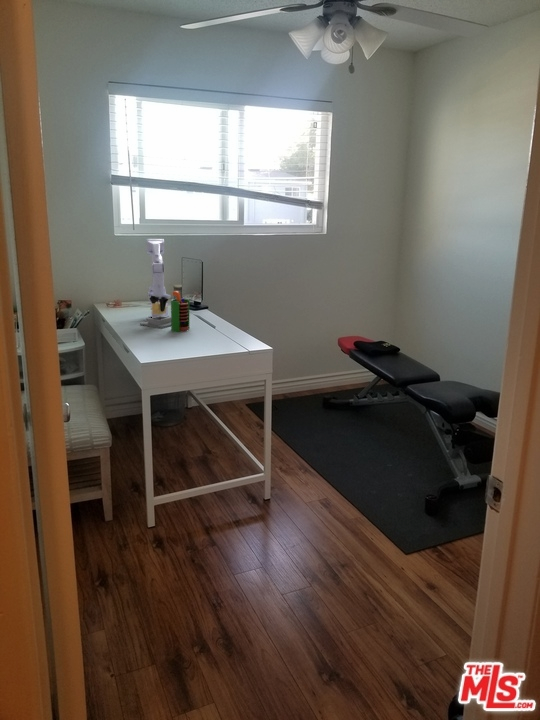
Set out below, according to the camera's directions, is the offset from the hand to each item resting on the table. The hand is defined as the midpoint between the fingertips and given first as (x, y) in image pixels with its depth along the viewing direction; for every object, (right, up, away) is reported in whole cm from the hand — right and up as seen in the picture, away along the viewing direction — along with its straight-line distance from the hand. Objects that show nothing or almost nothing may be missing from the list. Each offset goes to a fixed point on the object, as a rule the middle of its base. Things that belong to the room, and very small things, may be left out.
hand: (159, 310), depth 291 cm
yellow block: (0, -1, 0) cm, 1 cm away
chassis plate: (0, -7, +2) cm, 8 cm away
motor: (+13, -11, -9) cm, 19 cm away
